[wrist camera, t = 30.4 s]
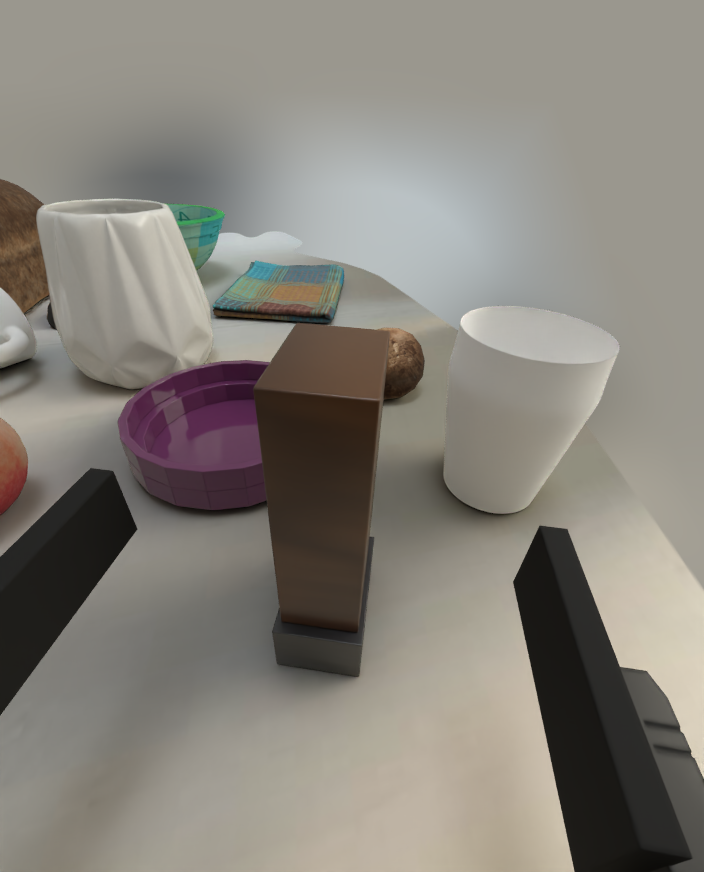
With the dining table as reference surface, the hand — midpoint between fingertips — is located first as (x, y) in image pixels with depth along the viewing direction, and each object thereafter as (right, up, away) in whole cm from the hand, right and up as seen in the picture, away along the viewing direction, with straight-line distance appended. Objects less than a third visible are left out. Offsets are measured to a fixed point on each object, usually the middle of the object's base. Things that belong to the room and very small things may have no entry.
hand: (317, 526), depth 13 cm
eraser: (0, -7, +9) cm, 11 cm away
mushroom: (+4, +8, +29) cm, 30 cm away
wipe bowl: (-8, +2, +20) cm, 22 cm away
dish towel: (-9, +25, +52) cm, 59 cm away
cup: (+11, -1, +18) cm, 21 cm away
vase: (-21, +10, +31) cm, 39 cm away
